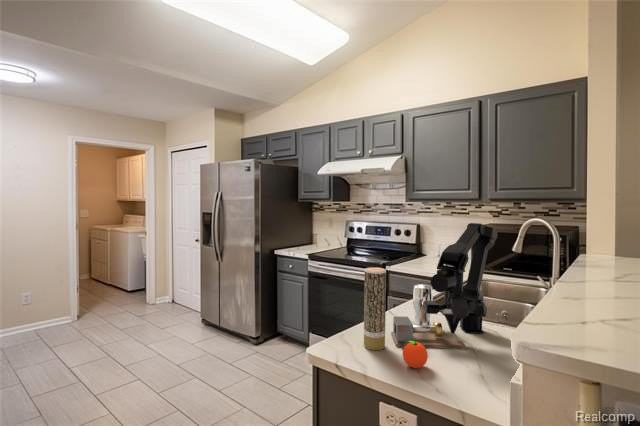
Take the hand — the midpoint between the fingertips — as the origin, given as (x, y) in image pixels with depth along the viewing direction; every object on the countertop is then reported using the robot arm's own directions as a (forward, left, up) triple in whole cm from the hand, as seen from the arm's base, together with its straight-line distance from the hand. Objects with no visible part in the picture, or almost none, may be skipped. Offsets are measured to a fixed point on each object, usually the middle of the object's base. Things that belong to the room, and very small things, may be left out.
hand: (452, 332), depth 116 cm
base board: (+8, 0, -3) cm, 9 cm away
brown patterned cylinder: (+26, +5, -3) cm, 27 cm away
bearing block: (+16, 0, -3) cm, 17 cm away
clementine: (+17, +17, -3) cm, 24 cm away
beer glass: (+6, -14, -3) cm, 16 cm away
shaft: (+10, 0, -1) cm, 10 cm away
